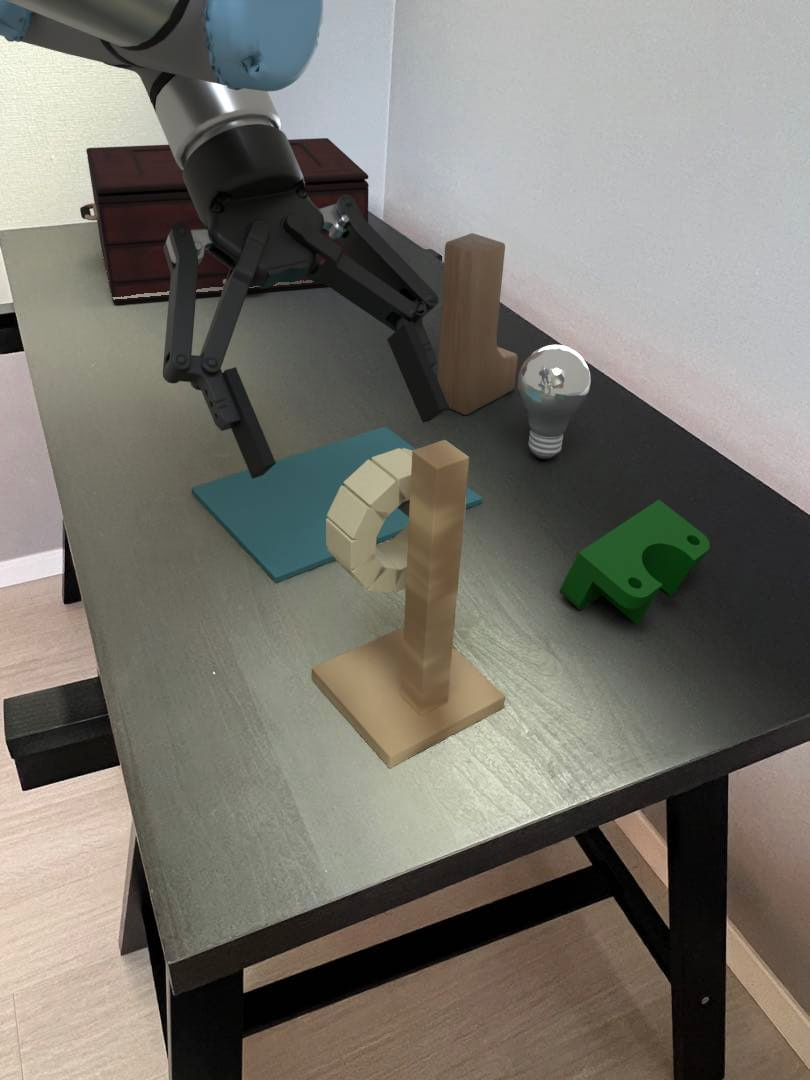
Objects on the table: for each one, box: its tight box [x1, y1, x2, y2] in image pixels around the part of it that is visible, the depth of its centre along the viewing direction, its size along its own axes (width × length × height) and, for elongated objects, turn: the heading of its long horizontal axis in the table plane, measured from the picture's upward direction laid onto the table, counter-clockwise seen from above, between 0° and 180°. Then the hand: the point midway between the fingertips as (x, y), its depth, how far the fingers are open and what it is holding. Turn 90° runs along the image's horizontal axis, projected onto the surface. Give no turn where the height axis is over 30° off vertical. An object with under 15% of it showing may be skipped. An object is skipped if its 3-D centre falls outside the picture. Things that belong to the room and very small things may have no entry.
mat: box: [190, 426, 483, 584], centre depth 88 cm, size 22×16×1 cm
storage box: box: [79, 137, 370, 306], centre depth 130 cm, size 39×23×15 cm, turn 108°
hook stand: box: [311, 439, 506, 769], centre depth 62 cm, size 10×10×21 cm
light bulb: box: [517, 344, 592, 461], centre depth 92 cm, size 7×7×12 cm
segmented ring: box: [326, 448, 466, 595], centre depth 61 cm, size 9×3×9 cm, turn 126°
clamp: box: [559, 499, 711, 625], centre depth 77 cm, size 12×6×9 cm, turn 129°
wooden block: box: [436, 232, 519, 416], centre depth 101 cm, size 9×4×18 cm, turn 138°
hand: (354, 442), depth 63 cm, fingers open, 13 cm apart
